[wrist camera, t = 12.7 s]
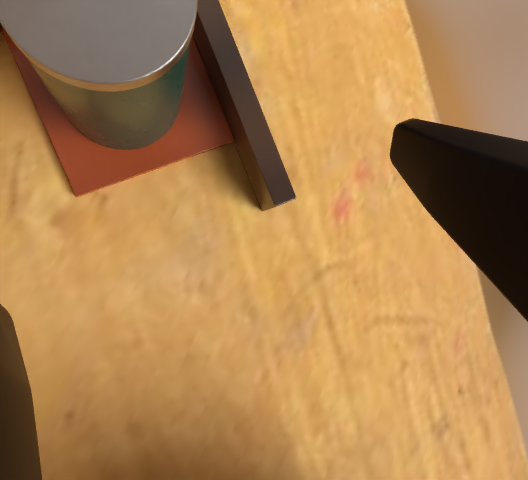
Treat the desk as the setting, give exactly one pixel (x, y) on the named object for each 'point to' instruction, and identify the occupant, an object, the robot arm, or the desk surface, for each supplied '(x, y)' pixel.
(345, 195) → the desk surface
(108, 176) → the corner rail
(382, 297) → the desk surface
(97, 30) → the tea tin
